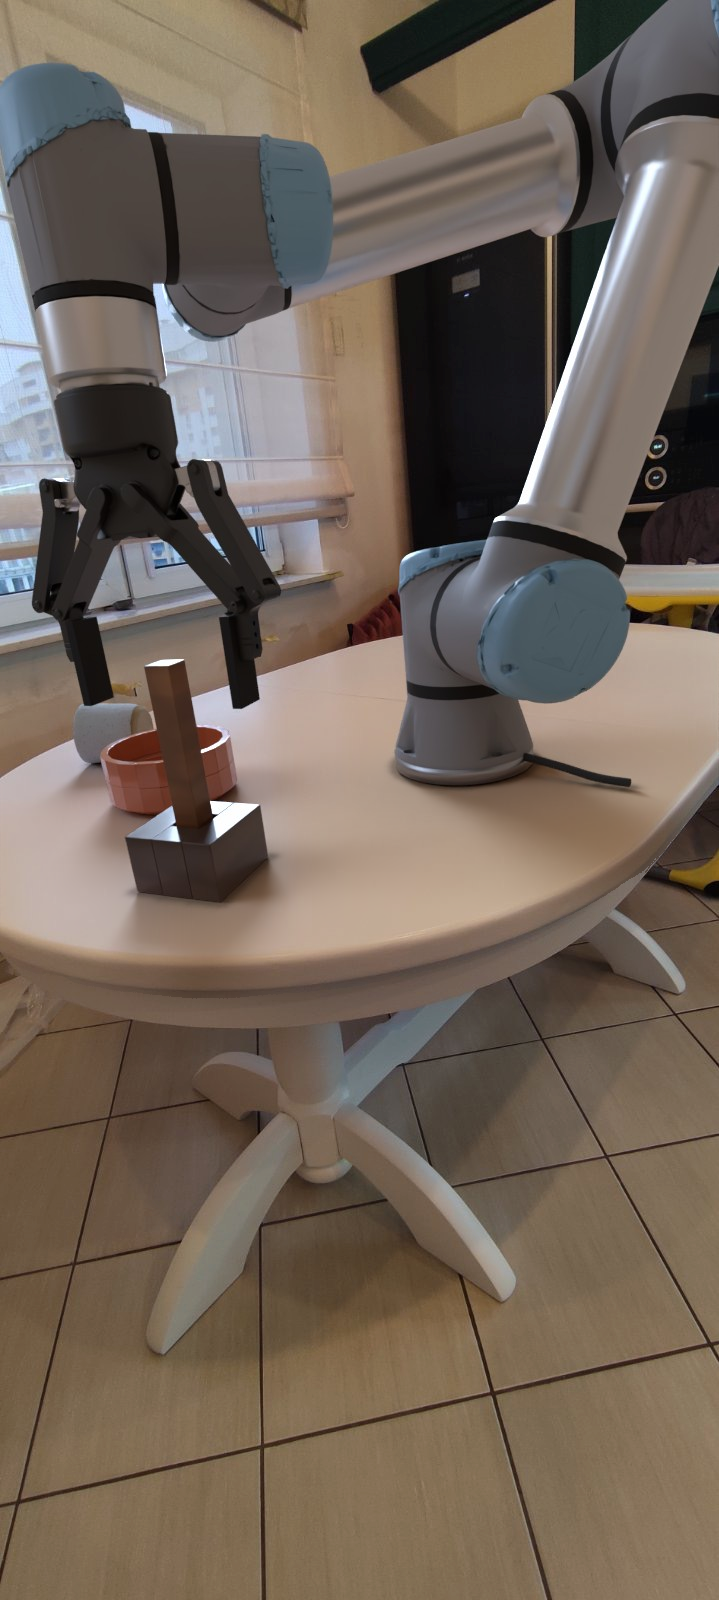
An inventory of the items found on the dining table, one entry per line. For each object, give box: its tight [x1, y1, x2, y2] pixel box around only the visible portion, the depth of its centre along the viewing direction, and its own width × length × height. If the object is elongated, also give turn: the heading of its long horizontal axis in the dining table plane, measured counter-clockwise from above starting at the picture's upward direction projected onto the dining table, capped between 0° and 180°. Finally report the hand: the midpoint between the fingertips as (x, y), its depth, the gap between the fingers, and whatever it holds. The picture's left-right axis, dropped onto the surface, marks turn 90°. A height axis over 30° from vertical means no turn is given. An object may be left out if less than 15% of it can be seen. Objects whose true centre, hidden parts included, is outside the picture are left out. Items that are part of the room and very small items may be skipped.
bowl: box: [100, 724, 238, 815], centre depth 79 cm, size 14×14×6 cm
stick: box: [143, 659, 213, 829], centre depth 58 cm, size 2×2×18 cm
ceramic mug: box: [72, 702, 155, 764], centre depth 94 cm, size 11×8×8 cm
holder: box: [124, 800, 269, 903], centre depth 60 cm, size 8×8×5 cm
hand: (169, 703), depth 56 cm, fingers open, 13 cm apart
